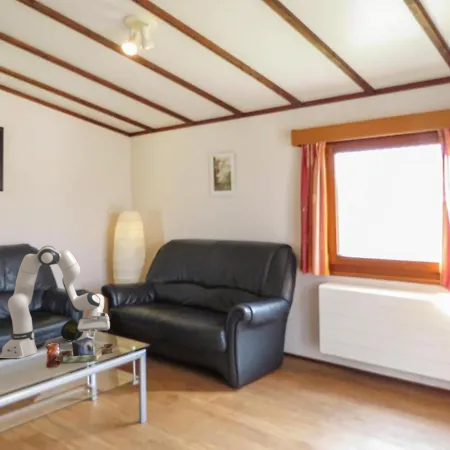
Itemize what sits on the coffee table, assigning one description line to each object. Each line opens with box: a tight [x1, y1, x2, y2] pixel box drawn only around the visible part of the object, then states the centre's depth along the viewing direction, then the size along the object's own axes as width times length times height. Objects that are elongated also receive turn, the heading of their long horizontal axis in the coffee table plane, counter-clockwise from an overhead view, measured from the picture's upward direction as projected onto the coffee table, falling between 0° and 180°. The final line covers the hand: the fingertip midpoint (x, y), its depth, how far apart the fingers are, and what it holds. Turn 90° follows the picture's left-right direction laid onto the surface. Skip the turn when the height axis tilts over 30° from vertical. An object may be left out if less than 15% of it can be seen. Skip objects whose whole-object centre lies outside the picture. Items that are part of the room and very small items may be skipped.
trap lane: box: [58, 341, 117, 364], centre depth 276 cm, size 32×25×3 cm
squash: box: [60, 317, 84, 341], centre depth 310 cm, size 14×15×15 cm
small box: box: [71, 336, 95, 357], centre depth 271 cm, size 11×6×10 cm, turn 139°
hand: (92, 336), depth 290 cm, fingers closed
